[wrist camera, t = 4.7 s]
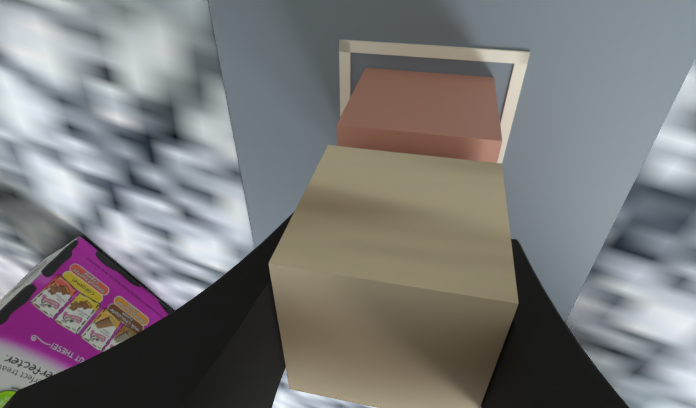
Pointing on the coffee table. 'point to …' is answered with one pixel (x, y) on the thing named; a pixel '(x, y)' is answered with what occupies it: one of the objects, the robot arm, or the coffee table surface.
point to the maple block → (396, 280)
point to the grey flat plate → (475, 60)
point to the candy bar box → (69, 315)
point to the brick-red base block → (423, 115)
